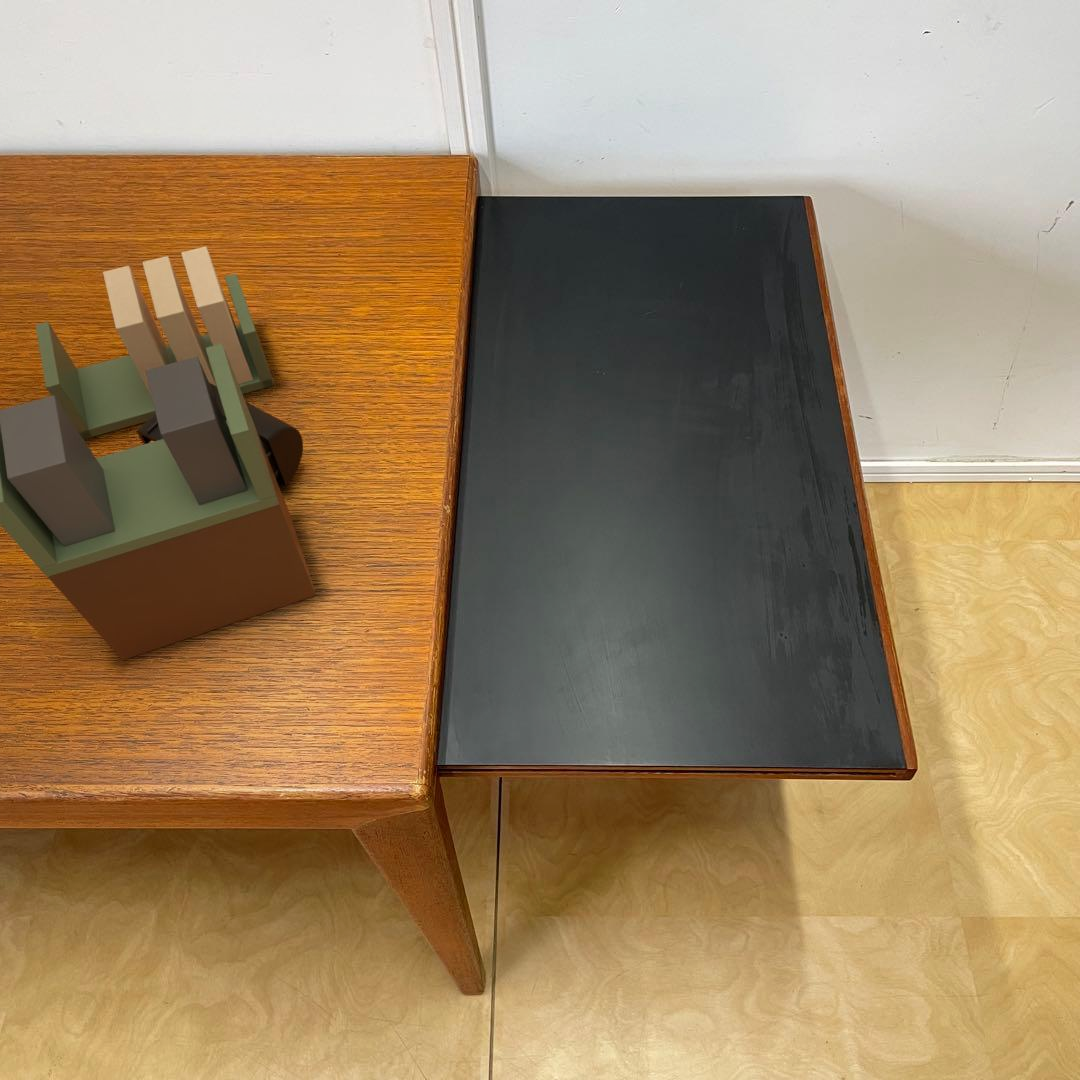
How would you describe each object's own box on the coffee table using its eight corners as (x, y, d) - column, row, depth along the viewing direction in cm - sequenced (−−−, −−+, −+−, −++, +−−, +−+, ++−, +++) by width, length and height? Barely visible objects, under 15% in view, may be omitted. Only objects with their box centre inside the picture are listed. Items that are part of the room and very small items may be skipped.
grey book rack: (122, 660, 65) (-22, 501, 48) (107, 580, 68) (-33, 404, 51) (316, 595, 68) (246, 423, 51) (292, 521, 71) (219, 337, 54)
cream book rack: (81, 440, 75) (24, 355, 66) (69, 379, 78) (14, 291, 70) (274, 385, 78) (244, 297, 70) (255, 329, 81) (224, 239, 73)
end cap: (312, 465, 74) (295, 411, 68) (254, 529, 71) (230, 477, 65) (217, 414, 76) (192, 358, 71) (157, 473, 73) (126, 419, 67)
